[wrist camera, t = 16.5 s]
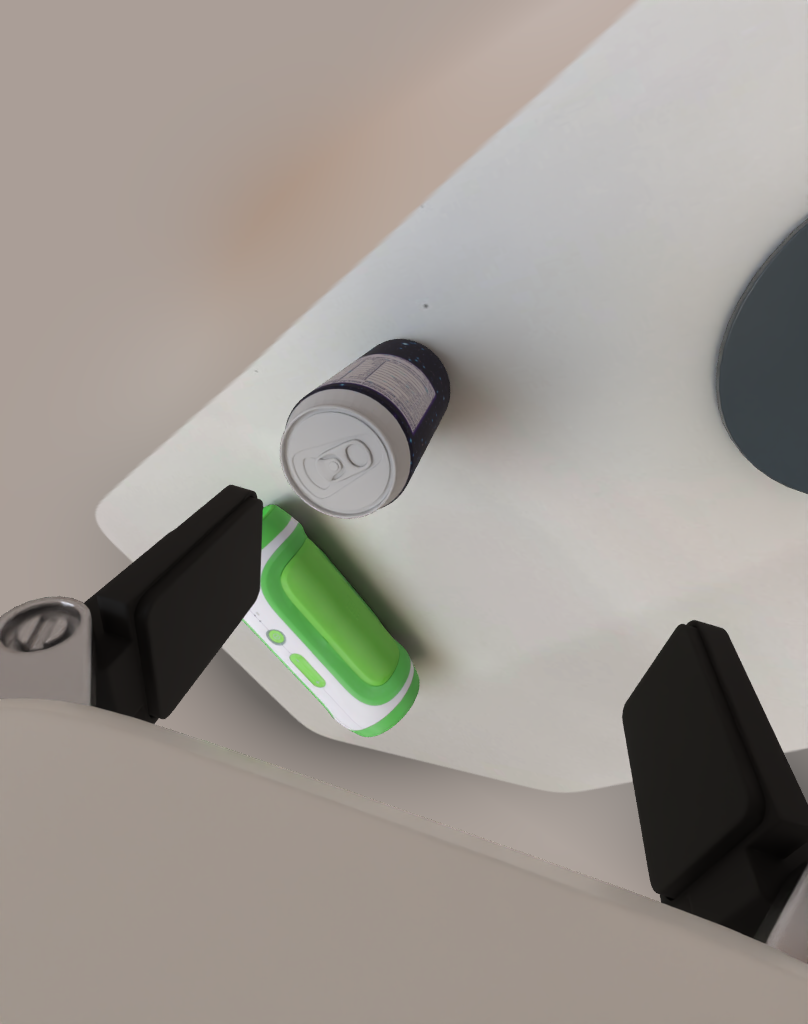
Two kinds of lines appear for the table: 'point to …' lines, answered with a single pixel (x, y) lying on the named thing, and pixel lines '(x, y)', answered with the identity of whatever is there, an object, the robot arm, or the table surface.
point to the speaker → (328, 632)
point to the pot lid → (770, 366)
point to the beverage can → (365, 429)
